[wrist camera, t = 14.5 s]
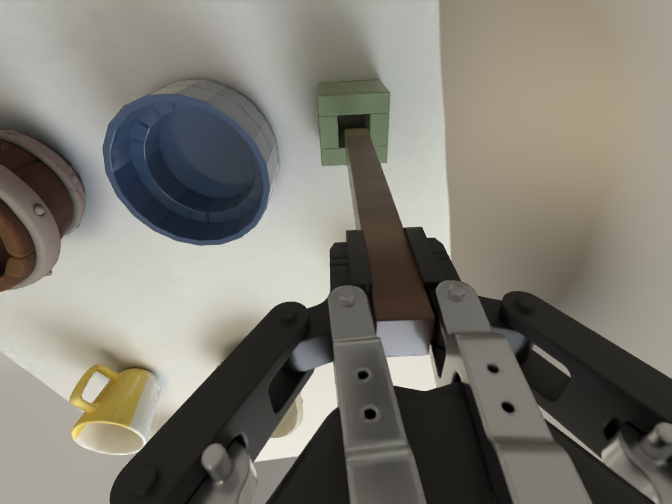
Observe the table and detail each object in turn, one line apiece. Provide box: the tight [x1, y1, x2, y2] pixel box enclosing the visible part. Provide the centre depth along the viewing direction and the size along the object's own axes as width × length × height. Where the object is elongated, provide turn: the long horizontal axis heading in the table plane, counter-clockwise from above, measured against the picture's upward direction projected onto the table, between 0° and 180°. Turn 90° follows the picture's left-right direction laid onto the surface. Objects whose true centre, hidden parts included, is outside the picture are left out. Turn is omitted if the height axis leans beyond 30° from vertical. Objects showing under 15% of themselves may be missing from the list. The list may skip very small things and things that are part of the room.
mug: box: [69, 365, 160, 455], centre depth 53 cm, size 14×10×10 cm
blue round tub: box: [103, 79, 279, 246], centre depth 32 cm, size 14×14×8 cm
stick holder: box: [317, 80, 390, 166], centre depth 31 cm, size 6×6×6 cm
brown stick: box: [345, 128, 435, 357], centre depth 19 cm, size 2×2×20 cm
